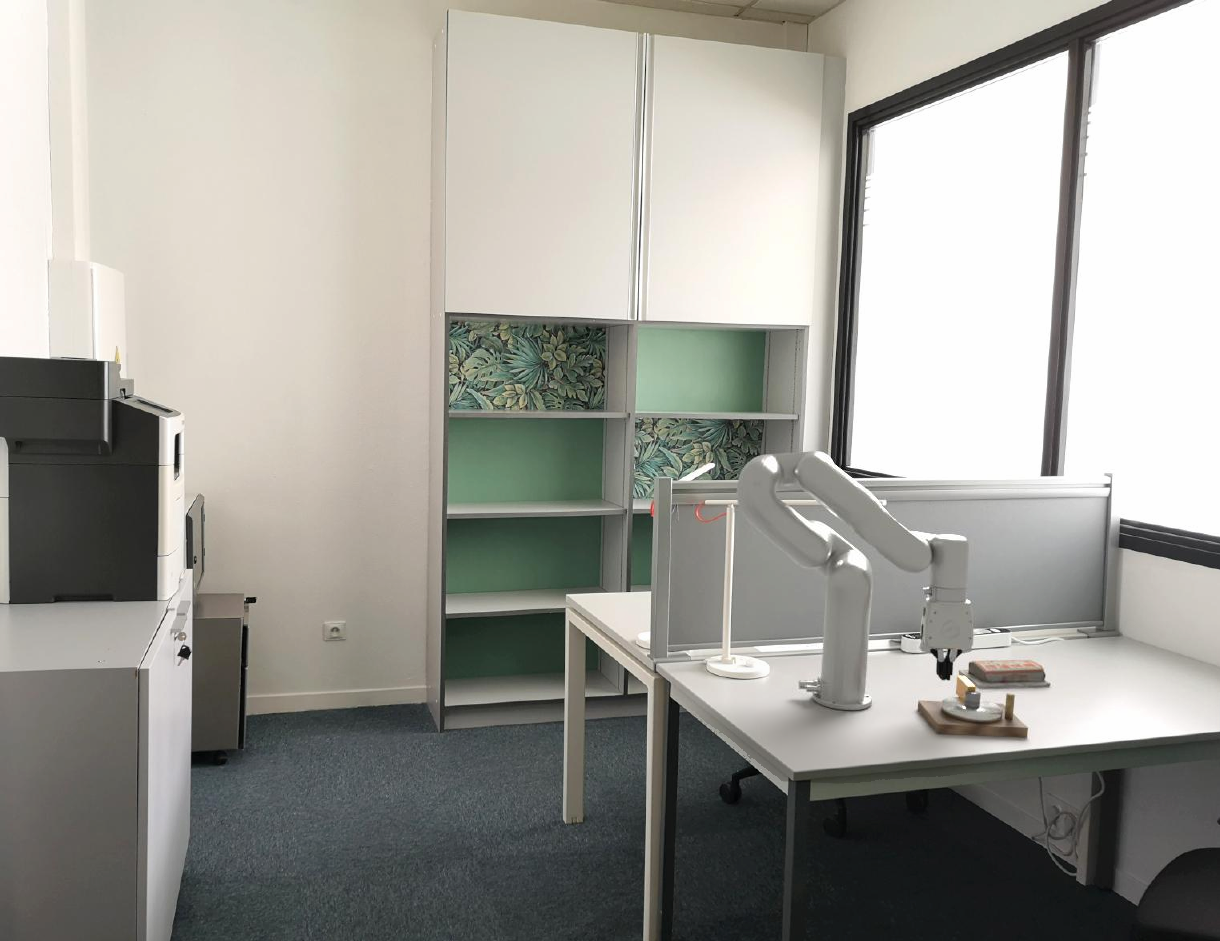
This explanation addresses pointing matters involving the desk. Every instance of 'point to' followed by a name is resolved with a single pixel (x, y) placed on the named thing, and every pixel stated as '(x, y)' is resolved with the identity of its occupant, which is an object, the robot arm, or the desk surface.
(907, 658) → the desk surface
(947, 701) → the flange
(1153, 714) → the desk surface
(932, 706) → the board
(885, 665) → the desk surface
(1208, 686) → the desk surface
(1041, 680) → the packaged product
